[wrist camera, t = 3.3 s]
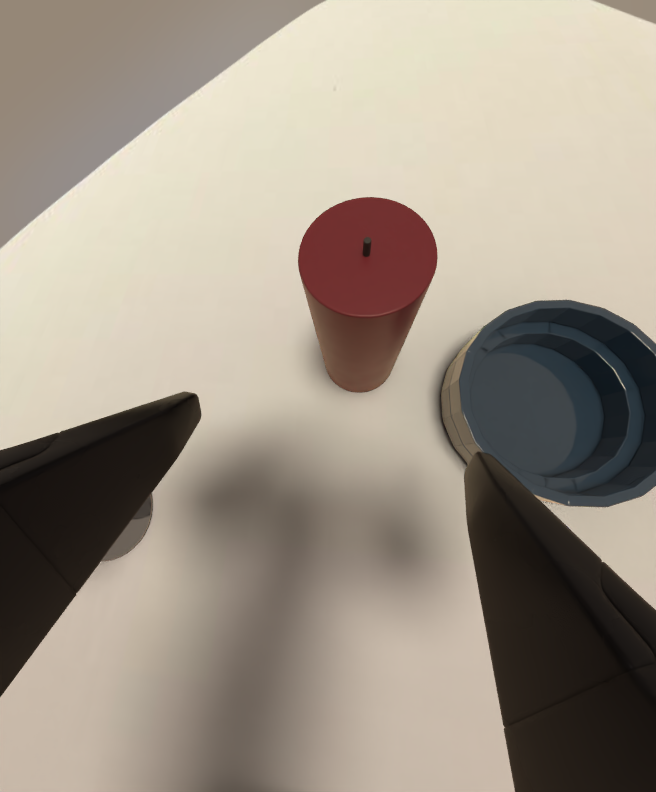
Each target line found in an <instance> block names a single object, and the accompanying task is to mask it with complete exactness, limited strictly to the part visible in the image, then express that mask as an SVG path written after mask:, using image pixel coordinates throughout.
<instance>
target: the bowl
mask: <svg viewBox="0 0 656 792" xmlns="http://www.w3.org/2000/svg"><path fill="white" fill-rule="evenodd" d="M441 403H442V418H443V422H444V424H445V427H446V429H447V432H448V434H449V437H450V439H451V442H452V444H453V446H454V448H455V449H456V450H457V451H458V453H459V454H460V455H461V456H462V457H463V459H464V460H465V461H466V462H467V464H469V462H470V460H471V458H472V456H473V454H474V453H475V452H477V451H479V452H484V453H489V454H491V455H493V456H494V457H495V458H496V459H497V460H498V461H499V462H500V463H501V464H502V465H503V466H504V467H505V468H506V469H507V470H508V471H510V472H511V473H512V474H513V475H514V476H515V477H516V478H517V479H518V480H519V481H520V482H521V483H522V484H523V485H524V486H525V487H526V488H527V489H528V490H529V491H530V492H531V493H532V494H534V495H535V496H536V497H537V498H538V499H539V500H542V501H546V502H551V503H556V504H561V505H565V506H579V507H609V506H613V505H616V504H619V503H622V502H626V501H629V500H632V499H635V498H639V497H641V496H643V495H645V494H646V493H647V492H648V491H650V490H651V489H652V488H654V487H655V486H656V343H654V342H653V341H652V340H651V339H650V338H649V337H648V336H647V335H646V334H645V333H643V332H642V331H641V330H640V329H639V328H638V327H637V326H636V325H634V324H633V323H631V322H629V321H627V320H625V319H623V318H622V317H620V316H618V315H616V314H614V313H612V312H610V311H608V310H606V309H604V308H601V307H597V306H593V305H589V304H584V303H580V302H576V301H572V300H548V301H534V302H531V303H528V304H525V305H522V306H519V307H516V308H512V309H509V310H507V311H505V312H504V313H502V314H501V315H500V316H498V317H497V318H495V319H494V320H492V321H491V322H490V323H488V324H487V325H485V326H484V327H483V328H482V329H481V330H480V331H479V332H478V333H477V334H476V335H475V336H474V337H473V338H472V339H471V340H470V341H469V342H468V343H467V344H466V345H465V346H464V347H463V348H462V349H461V350H460V352H459V353H458V355H457V356H456V358H455V359H454V360H453V362H452V363H451V365H450V366H449V367H448V370H447V373H446V376H445V380H444V383H443V387H442V391H441Z"/></svg>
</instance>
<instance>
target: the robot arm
mask: <svg viewBox="0 0 656 792" xmlns="http://www.w3.org/2000/svg"><path fill="white" fill-rule="evenodd" d="M200 419H201V409H200V404H199V399H198V396H197V395H196V394H195V393H190V392H181V393H178V394H175V395H172V396H169V397H166V398H163V399H160V400H157V401H154V402H151V403H147V404H144V405H141V406H138V407H135V408H132V409H129V410H126V411H123V412H120V413H117V414H114V415H111V416H108V417H104V418H101V419H98V420H95V421H92V422H89V423H86V424H83V425H80V426H77V427H74V428H71V429H68V430H65V431H61V432H60V433H55V434H52V435H49V436H46V437H43V438H40V439H37V440H33V441H30V442H27V443H24V444H21V445H17V446H14V447H10V448H7V449H4V450H0V697H1V695H2V694H3V693H4V691H5V690H6V689H7V687H8V686H9V685H10V683H11V682H12V681H13V679H14V678H15V677H16V675H17V674H18V673H19V671H20V670H21V669H22V667H23V666H24V664H25V663H26V662H27V660H28V659H29V658H30V656H31V655H32V654H33V652H34V651H35V650H36V648H37V647H38V646H39V644H40V643H41V642H42V640H43V639H44V637H45V636H46V635H47V633H48V632H49V631H50V629H51V628H52V627H53V625H54V624H55V623H56V621H57V620H58V619H59V617H60V616H61V615H62V613H63V612H64V611H65V609H66V608H67V607H68V605H69V604H70V602H71V601H72V600H73V598H74V597H75V596H76V593H77V592H78V591H79V590H80V589H81V587H82V586H83V585H84V583H85V582H86V581H87V579H88V578H89V577H90V575H91V574H92V572H93V571H94V570H95V568H96V567H97V566H98V564H99V563H100V562H101V560H102V559H103V558H104V556H105V555H106V554H107V552H108V551H109V550H110V548H111V547H112V546H113V544H114V543H115V542H116V540H117V539H118V537H119V536H120V535H121V533H122V532H123V531H124V529H125V528H126V527H127V525H128V524H129V523H130V521H131V520H132V519H133V517H134V516H135V515H136V513H137V512H138V511H139V509H140V508H141V506H142V505H143V504H144V502H145V501H146V500H147V498H148V497H149V496H150V494H151V493H152V492H153V490H154V489H155V488H156V486H157V485H158V484H159V482H160V481H161V480H162V478H163V477H164V475H165V474H166V473H167V471H168V470H169V469H170V467H171V466H172V465H173V463H174V462H175V461H176V459H177V458H178V456H179V455H180V453H181V451H182V450H183V448H184V446H185V445H186V443H187V441H188V440H189V438H190V436H191V435H192V433H193V431H194V429H195V428H196V426H197V424H198V423H199V421H200ZM464 483H465V500H466V516H467V526H468V533H469V538H470V544H471V549H472V555H473V560H474V566H475V572H476V577H477V583H478V588H479V594H480V599H481V605H482V610H483V616H484V621H485V627H486V632H487V638H488V643H489V649H490V654H491V660H492V665H493V671H494V676H495V682H496V687H497V693H498V698H499V704H500V709H501V715H502V720H503V725H504V727H505V728H504V733H505V738H506V744H507V749H508V755H509V760H510V766H511V771H512V777H513V782H514V788H515V792H656V610H655V609H654V608H653V607H652V606H651V605H649V604H648V603H647V602H646V601H645V600H644V599H643V598H642V597H641V596H640V595H639V594H638V593H636V592H635V591H634V590H633V589H632V588H631V587H630V586H629V585H628V584H627V583H626V582H625V581H624V580H622V579H621V578H620V577H619V576H618V575H617V574H616V573H615V572H614V571H613V570H612V569H611V568H610V567H609V566H608V565H607V564H606V563H604V562H602V560H601V559H600V558H599V557H598V556H597V555H596V554H595V553H594V552H593V551H592V550H591V549H590V548H589V547H588V546H587V545H586V544H585V543H584V542H583V541H582V540H581V539H580V538H578V537H577V536H576V535H575V534H574V533H573V532H572V531H571V530H570V529H569V528H568V527H567V526H566V525H565V524H564V523H563V522H562V521H561V520H560V519H559V518H558V517H557V516H555V515H554V514H553V513H552V512H551V511H550V510H549V509H548V508H547V507H546V506H545V505H544V504H543V503H542V502H541V501H540V500H539V499H538V498H537V497H536V496H535V495H534V494H532V493H531V492H530V491H529V490H528V489H527V488H526V487H525V486H524V485H523V484H522V483H521V482H520V481H519V480H518V479H517V478H516V477H515V476H514V475H513V474H512V473H511V472H510V471H508V470H507V469H506V468H505V467H504V466H503V465H502V464H501V463H500V462H499V461H498V460H497V459H496V458H495V457H494V456H493V455H491V454H489V453H484V452H479V451H477V452H475V453H474V454H473V456H472V458H471V460H470V462H469V464H468V466H467V468H466V470H465V474H464Z"/></svg>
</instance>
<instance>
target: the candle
mask: <svg viewBox="0 0 656 792" xmlns="http://www.w3.org/2000/svg"><path fill="white" fill-rule="evenodd" d="M298 266H299V272H300V276H301V280H302V283H303V287H304V290H305V294H306V298H307V301H308V305H309V308H310V312H311V316H312V319H313V323H314V326H315V330H316V334H317V337H318V341H319V344H320V348H321V352H322V355H323V359H324V362H325V366H326V370H327V372H328V374H329V376H330V378H331V379H332V380H333V381H334V382H335V383H336V384H337V385H338V386H339V387H341V388H343V389H345V390H348V391H351V392H367V391H371V390H373V389H375V388H377V387H379V386H380V385H381V384H383V383H384V382H385V381H386V379H387V378H388V377H389V375H390V373H391V371H392V369H393V366H394V364H395V362H396V360H397V357H398V355H399V353H400V351H401V348H402V346H403V344H404V342H405V339H406V337H407V335H408V333H409V330H410V328H411V326H412V324H413V321H414V319H415V317H416V315H417V312H418V310H419V308H420V306H421V303H422V301H423V299H424V297H425V294H426V292H427V290H428V288H429V285H430V283H431V281H432V278H433V276H434V274H435V270H436V266H437V247H436V242H435V239H434V236H433V234H432V232H431V230H430V228H429V226H428V225H427V224H426V222H425V221H424V220H423V219H422V218H421V217H420V216H419V215H418V214H417V213H416V212H414V211H413V210H412V209H410V208H408V207H407V206H405V205H403V204H400V203H398V202H396V201H392V200H389V199H383V198H374V197H366V198H357V199H352V200H348V201H345V202H342V203H339V204H337V205H335V206H333V207H331V208H329V209H328V210H326V211H325V212H323V213H322V214H321V215H320V216H319V217H318V218H316V220H315V221H314V222H313V223H312V224H311V225H310V227H309V228H308V230H307V231H306V233H305V235H304V237H303V239H302V242H301V245H300V249H299V255H298Z"/></svg>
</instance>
